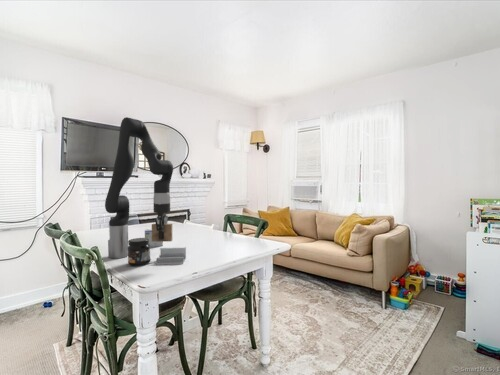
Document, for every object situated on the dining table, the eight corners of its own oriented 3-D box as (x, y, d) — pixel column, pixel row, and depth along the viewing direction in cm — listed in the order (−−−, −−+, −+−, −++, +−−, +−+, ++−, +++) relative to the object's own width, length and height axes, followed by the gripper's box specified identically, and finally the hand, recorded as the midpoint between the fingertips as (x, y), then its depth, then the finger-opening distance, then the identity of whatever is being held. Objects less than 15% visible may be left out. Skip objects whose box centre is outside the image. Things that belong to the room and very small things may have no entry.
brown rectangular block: (151, 241, 129) (151, 224, 128) (153, 240, 131) (153, 223, 131) (171, 241, 129) (171, 224, 129) (172, 240, 132) (172, 223, 131)
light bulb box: (162, 243, 178) (162, 227, 178) (163, 246, 172) (162, 229, 172) (145, 245, 175) (144, 228, 175) (144, 247, 169) (144, 230, 168)
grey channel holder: (156, 264, 134) (155, 252, 134) (161, 259, 143) (160, 247, 143) (182, 263, 135) (182, 251, 135) (186, 258, 144) (185, 247, 144)
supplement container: (124, 263, 137) (124, 239, 136) (145, 259, 144) (144, 236, 144) (133, 268, 129) (132, 243, 129) (154, 263, 137) (153, 239, 136)
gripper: (158, 201, 136) (158, 235, 137) (149, 203, 122) (149, 242, 123) (173, 201, 137) (173, 235, 137) (166, 203, 123) (166, 242, 123)
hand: (162, 238), depth 130 cm, fingers closed on brown rectangular block, 2 cm apart
